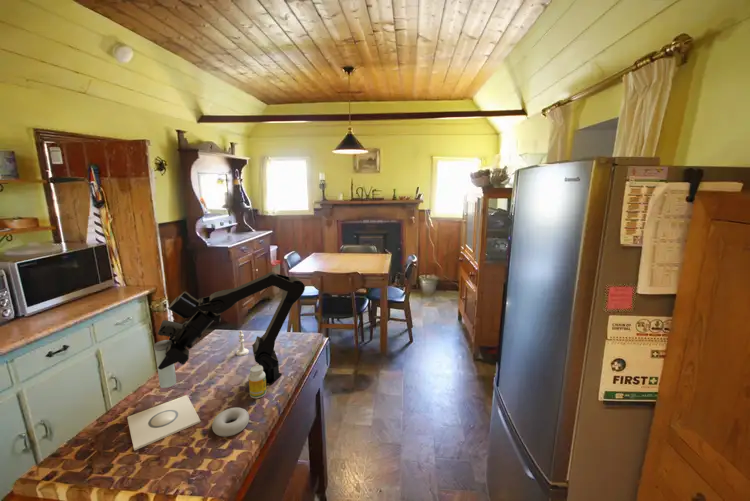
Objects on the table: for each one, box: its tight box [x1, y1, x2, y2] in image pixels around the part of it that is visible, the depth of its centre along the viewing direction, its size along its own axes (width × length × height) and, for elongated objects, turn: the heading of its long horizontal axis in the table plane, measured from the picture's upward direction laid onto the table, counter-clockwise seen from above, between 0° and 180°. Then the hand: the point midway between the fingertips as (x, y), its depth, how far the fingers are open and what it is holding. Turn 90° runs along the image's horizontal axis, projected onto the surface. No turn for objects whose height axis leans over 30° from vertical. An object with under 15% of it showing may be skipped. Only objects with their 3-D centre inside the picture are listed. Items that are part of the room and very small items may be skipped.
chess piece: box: [236, 330, 250, 357], centre depth 135 cm, size 5×5×10 cm
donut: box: [211, 407, 250, 438], centre depth 94 cm, size 10×4×10 cm
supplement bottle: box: [248, 364, 267, 399], centre depth 108 cm, size 5×5×10 cm
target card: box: [127, 394, 201, 451], centre depth 96 cm, size 16×16×1 cm
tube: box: [153, 339, 177, 389], centre depth 102 cm, size 5×5×14 cm
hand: (160, 364), depth 102 cm, fingers closed on tube, 4 cm apart
